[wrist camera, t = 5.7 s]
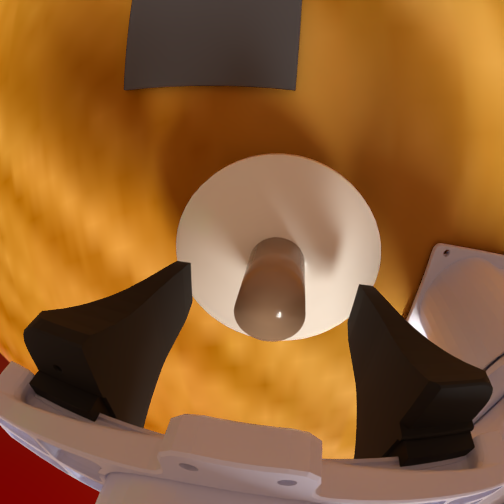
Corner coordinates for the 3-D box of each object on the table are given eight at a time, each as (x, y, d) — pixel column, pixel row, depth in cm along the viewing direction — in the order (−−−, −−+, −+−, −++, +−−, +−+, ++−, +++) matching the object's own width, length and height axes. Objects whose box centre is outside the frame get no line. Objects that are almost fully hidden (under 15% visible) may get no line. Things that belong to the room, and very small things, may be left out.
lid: (392, 165, 12) (435, 194, 8) (355, 336, 17) (365, 400, 12) (175, 151, 13) (123, 173, 9) (189, 320, 18) (162, 379, 14)
